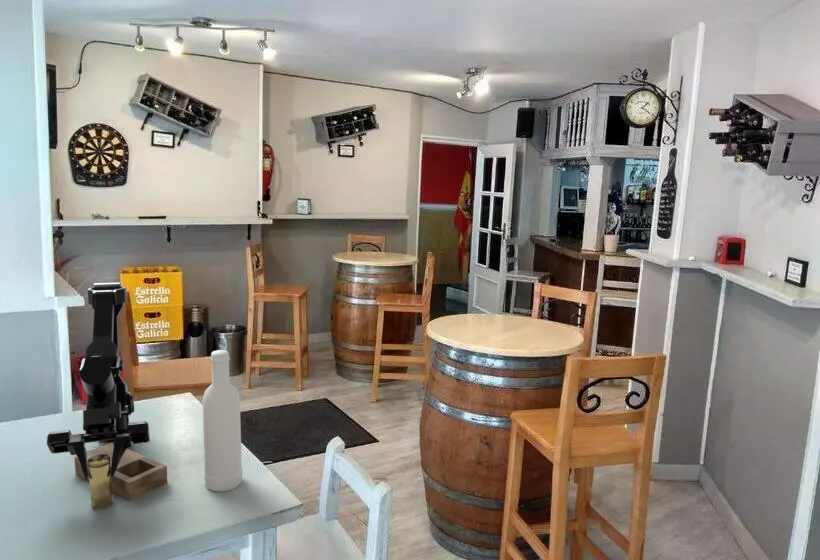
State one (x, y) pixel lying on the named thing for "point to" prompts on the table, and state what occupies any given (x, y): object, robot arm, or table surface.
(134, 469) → the jig
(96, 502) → the disc
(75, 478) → the table surface
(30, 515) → the table surface
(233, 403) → the bottle
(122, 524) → the table surface
